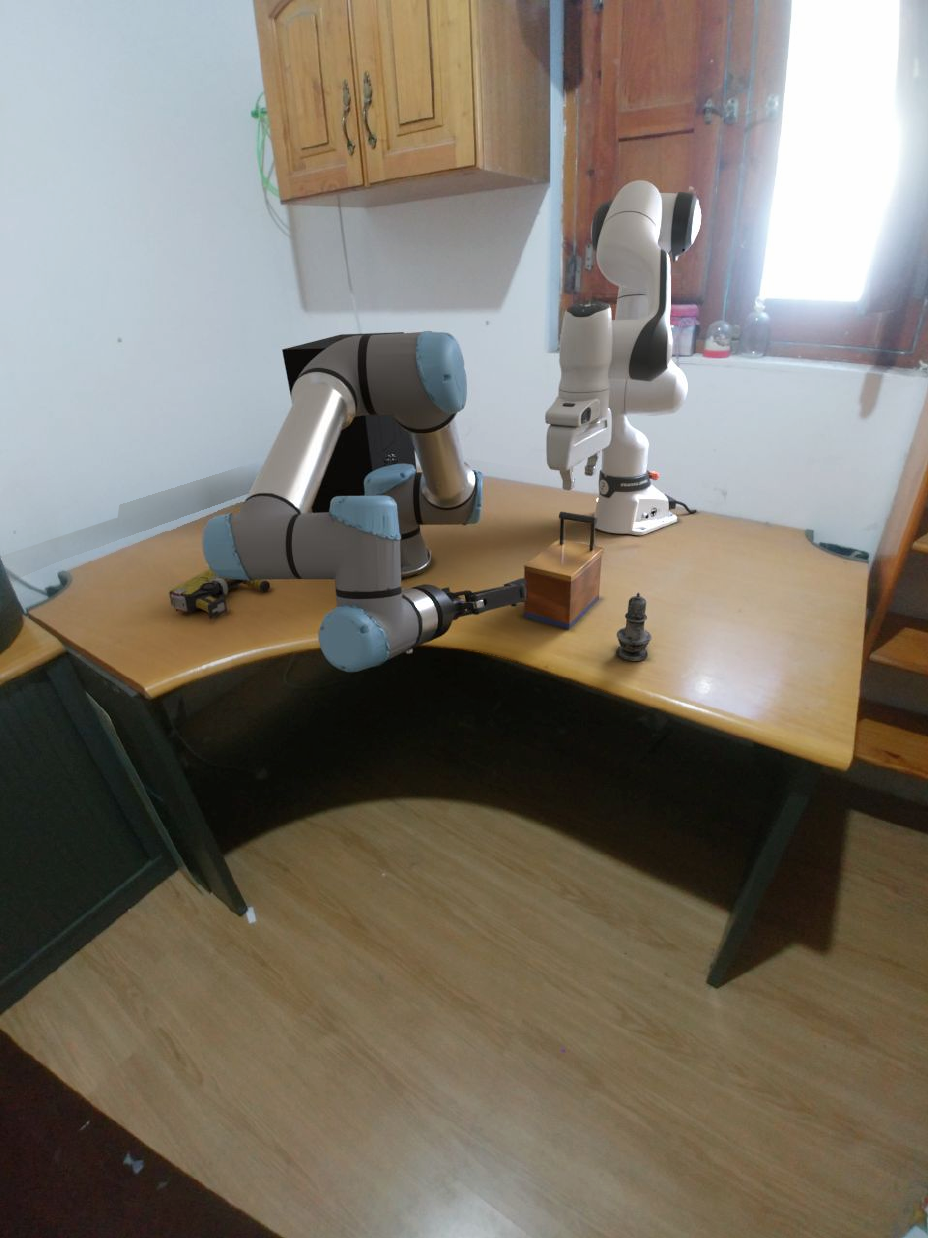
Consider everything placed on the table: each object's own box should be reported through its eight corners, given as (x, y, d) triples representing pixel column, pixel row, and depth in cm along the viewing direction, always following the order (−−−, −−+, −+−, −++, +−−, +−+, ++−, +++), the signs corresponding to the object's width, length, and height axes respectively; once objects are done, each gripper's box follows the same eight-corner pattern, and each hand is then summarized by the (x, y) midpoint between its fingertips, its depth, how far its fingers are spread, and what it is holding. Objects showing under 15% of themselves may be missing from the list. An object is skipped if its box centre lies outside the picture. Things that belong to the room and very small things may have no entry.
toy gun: (291, 561, 141) (237, 550, 145) (223, 605, 121) (163, 591, 125) (293, 579, 143) (240, 568, 147) (226, 625, 123) (167, 611, 127)
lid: (559, 543, 125) (560, 507, 121) (603, 552, 120) (606, 514, 116) (524, 570, 115) (524, 531, 111) (571, 581, 110) (572, 541, 106)
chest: (555, 588, 129) (557, 545, 124) (598, 599, 124) (602, 554, 119) (524, 616, 120) (523, 571, 115) (569, 629, 115) (571, 582, 110)
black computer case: (378, 519, 171) (356, 347, 149) (313, 517, 176) (282, 349, 153) (417, 479, 203) (403, 331, 180) (361, 478, 207) (341, 334, 185)
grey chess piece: (650, 663, 103) (658, 601, 97) (615, 660, 105) (620, 600, 99) (648, 644, 108) (655, 585, 102) (614, 642, 110) (620, 583, 104)
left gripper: (346, 649, 85) (424, 620, 104) (506, 638, 73) (561, 607, 92) (336, 597, 84) (416, 577, 103) (496, 577, 72) (554, 558, 91)
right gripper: (591, 393, 116) (587, 465, 123) (540, 415, 101) (539, 495, 108) (622, 395, 112) (616, 469, 119) (574, 418, 98) (571, 500, 105)
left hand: (485, 591), depth 97 cm, fingers open, 13 cm apart
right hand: (579, 481), depth 114 cm, fingers open, 8 cm apart
